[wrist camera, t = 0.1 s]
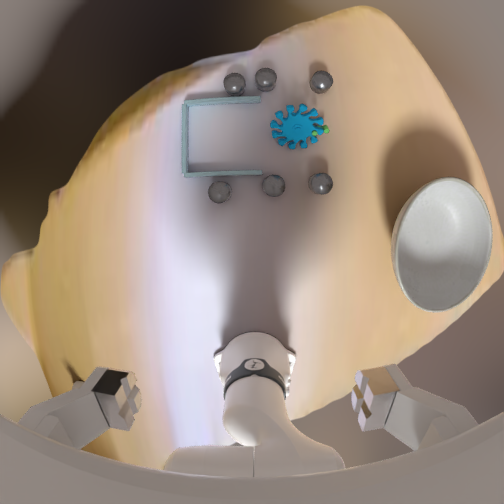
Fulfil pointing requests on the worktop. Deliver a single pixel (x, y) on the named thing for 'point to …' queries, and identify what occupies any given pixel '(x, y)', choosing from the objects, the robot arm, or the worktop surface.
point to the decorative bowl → (441, 244)
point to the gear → (298, 126)
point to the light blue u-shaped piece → (185, 133)
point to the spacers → (272, 183)
